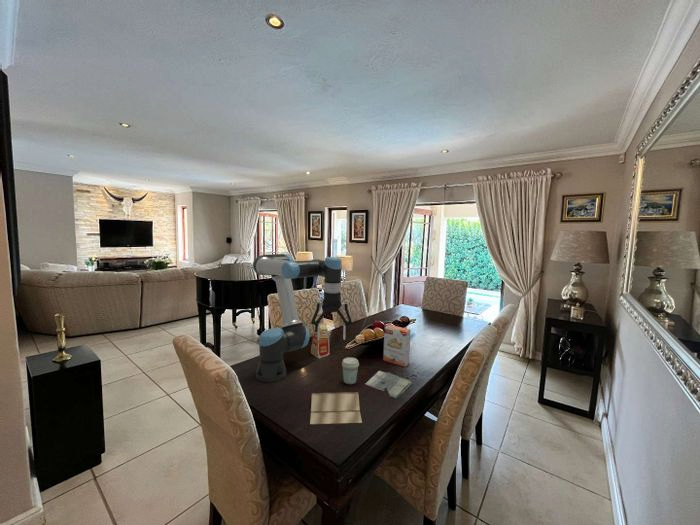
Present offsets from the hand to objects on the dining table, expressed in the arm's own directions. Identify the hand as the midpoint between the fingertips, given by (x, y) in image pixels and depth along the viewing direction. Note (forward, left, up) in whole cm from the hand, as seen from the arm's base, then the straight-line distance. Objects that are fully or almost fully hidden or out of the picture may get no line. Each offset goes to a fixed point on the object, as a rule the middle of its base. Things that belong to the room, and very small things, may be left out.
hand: (331, 338), depth 132 cm
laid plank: (+2, -20, -26) cm, 33 cm away
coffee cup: (+10, +8, -26) cm, 29 cm away
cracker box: (+39, +31, -26) cm, 56 cm away
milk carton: (-5, +44, -26) cm, 51 cm away
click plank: (+2, -12, -24) cm, 27 cm away
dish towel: (+29, +6, -27) cm, 40 cm away
